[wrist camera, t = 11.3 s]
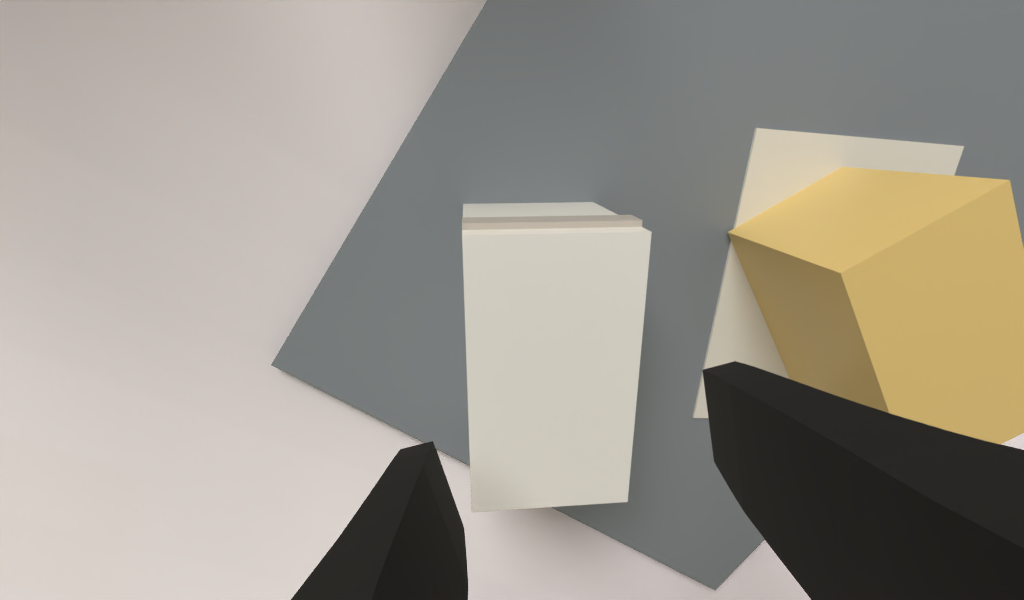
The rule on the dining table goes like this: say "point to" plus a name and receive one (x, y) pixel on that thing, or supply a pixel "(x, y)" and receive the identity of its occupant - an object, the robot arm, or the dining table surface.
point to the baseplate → (652, 201)
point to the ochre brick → (898, 294)
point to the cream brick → (552, 351)
